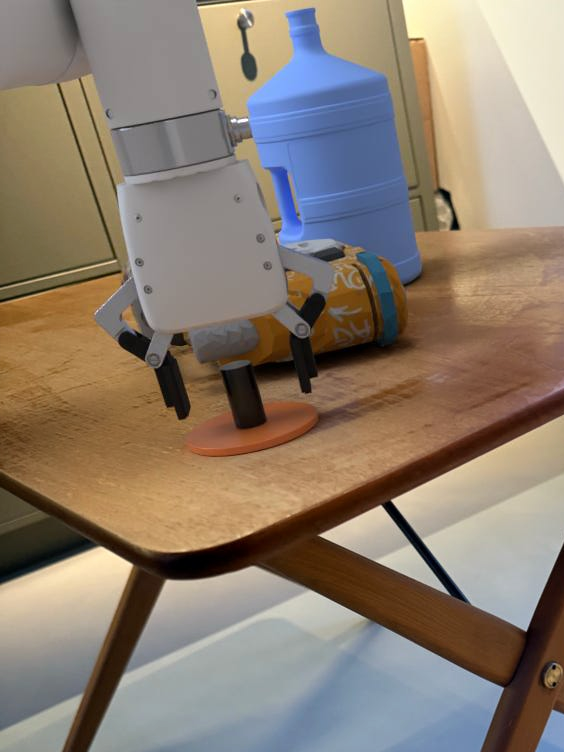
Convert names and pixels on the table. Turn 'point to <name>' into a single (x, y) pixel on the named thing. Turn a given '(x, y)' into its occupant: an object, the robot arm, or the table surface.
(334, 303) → the device
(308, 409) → the lid
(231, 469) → the table surface
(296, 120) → the water jug
